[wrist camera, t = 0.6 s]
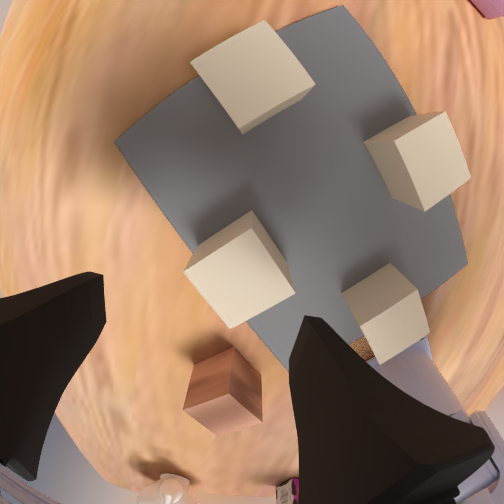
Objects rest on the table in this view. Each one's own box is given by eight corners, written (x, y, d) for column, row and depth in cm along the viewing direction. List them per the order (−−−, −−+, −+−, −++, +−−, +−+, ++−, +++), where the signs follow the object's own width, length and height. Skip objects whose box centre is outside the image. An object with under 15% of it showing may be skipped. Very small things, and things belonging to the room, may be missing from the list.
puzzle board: (463, 260, 18) (497, 284, 14) (289, 369, 22) (296, 411, 17) (340, 8, 12) (362, -24, 8) (118, 141, 16) (79, 142, 11)
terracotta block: (261, 375, 22) (262, 422, 17) (223, 391, 23) (218, 436, 18) (233, 345, 21) (228, 393, 16) (194, 364, 22) (182, 409, 17)
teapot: (213, 462, 28) (207, 522, 19) (199, 499, 35) (194, 539, 26) (140, 445, 27) (123, 502, 19) (147, 488, 34) (138, 526, 25)
